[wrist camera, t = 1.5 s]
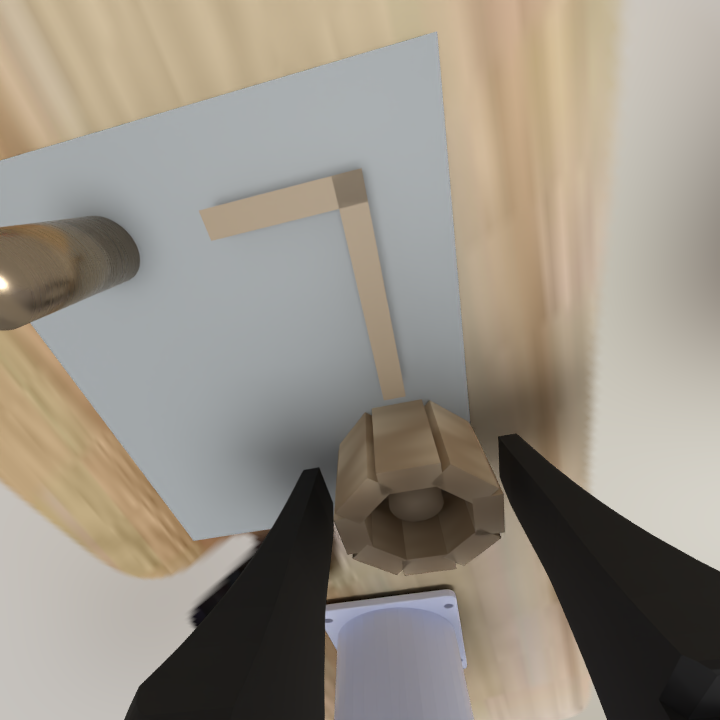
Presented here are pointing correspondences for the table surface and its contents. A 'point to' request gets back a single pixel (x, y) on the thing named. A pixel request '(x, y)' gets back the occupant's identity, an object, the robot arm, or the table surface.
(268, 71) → the table surface
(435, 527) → the ring
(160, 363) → the board
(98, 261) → the end peg
